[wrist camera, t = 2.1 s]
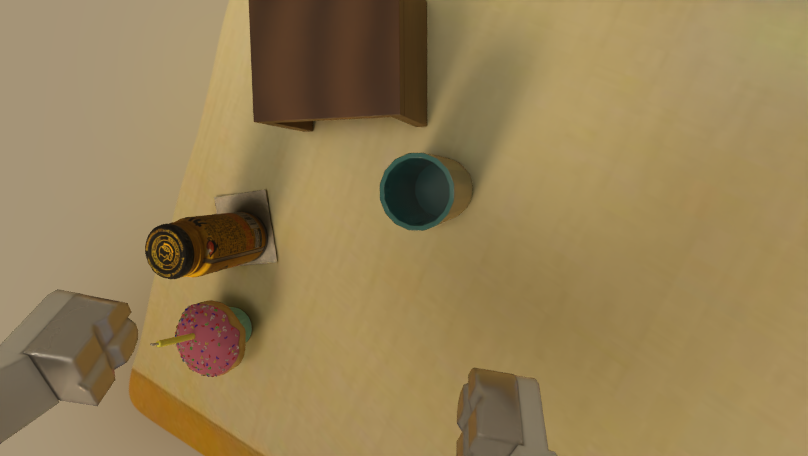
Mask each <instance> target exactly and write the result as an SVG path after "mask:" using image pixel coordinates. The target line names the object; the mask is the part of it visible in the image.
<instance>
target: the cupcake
mask: <svg viewBox="0 0 808 456" xmlns="http://www.w3.org/2000/svg"><path fill="white" fill-rule="evenodd" d="M176 328H177V330H176V332H175V334H176V335H175V337H173V338H168V339H164V340H160V341H157V342H156V343H153V344H152V343H151V344H150V345H152V346H154V345H156V346H157V347H163V346H167V345H171V344H175V343H176V346H177V348H178V351H179V353H180V355H181V358H183V359H182V361H183V362H185V363H186V364H187V366H188V367H189V369H191V370H192V371H193V372H194V371H195V372H197V373H200V374H201V375H203V376H208V377H210V376H211V377H214V376H216V377H217V376H220V375H223V374H225V373H227V372H229V371H230V370H232V369H233V368H234V367H236V366H238V365H239V364H240V363H241V361H242V359H243V356H244V352H245V343H246V342H247V341H248V340H249V338H250V336H251V332H252V326H251V322H250V319H249V317H248V316H247V314H246V313H245V312H244V311H242V310H241V309H239V308H235V307H227V306H226V305H225V304H223V303H220V302H215V301H205V302H200V303H197V304H193V305H191V306H188V307H187V309H185V312H183V313H182V316H181V318H180V320H179V323H178V325H177V326H176Z"/></svg>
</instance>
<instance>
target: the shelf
mask: <svg viewBox="0 0 808 456" xmlns="http://www.w3.org/2000/svg"><path fill="white" fill-rule="evenodd" d="M249 18H250V42H251V66H252V89H253V113H254V122H257V123H262V124H267V125H272V126H277V127H283V128H288V129H293V130H298V131H303V132H307V131H313V121H321V120H341V119H362V118H382V117H393V118H396V119H398V120H401V121H403V122H406V123H408V124H411V125H413V126H416V127H425V126H427V2H426V0H249Z"/></svg>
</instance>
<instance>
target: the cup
mask: <svg viewBox="0 0 808 456" xmlns="http://www.w3.org/2000/svg"><path fill="white" fill-rule="evenodd" d="M472 195H473V183H472V179H471V176H470V174H469V173H468V171H467V170H466V168H465V167H464V166H463V165H461V164H460V163H459V162H457V161H455V160H452V159H449V158H445V157H440V156H436V155H431V154H426V153H408V154H406V155H404V156H401V157H399V158H397V159H395V160H394V161H393V162H392V163H391V164H390V166H389V167H388V168H387V169H386V170H385V172H384V175H383V177H382V180H381V183H380V201H381V203H382V206H383V208H384V211H385V213H386V214H387V215H388V217H389V218H390V219H391V220H392V221H393V222H394V223H395V224H396V225H399V226H401V227H403V228H405V229H407V230H419V231H423V230H427V229H429V228H432V227H434V226H437V225H439V224H441V223H443V222H446V221H448V220H450V219H452V218H455V217H457V216H459V215H460V214H461V213H462V212H463V211H464V210H465V209H466V208H467V207H468V205H469V204H470V202H471V199H472Z"/></svg>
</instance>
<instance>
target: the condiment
mask: <svg viewBox="0 0 808 456" xmlns="http://www.w3.org/2000/svg"><path fill="white" fill-rule="evenodd" d="M214 199H215V206H216V211H217V214H213V215H206V216H196V217H186V218H182V219H180V220H178V221H176V222H173V223H170V224H163V225H160V226H157V227H156V228H154V229H153V230H152V231H151V232H150V234H149V235H148V238H147V241H146V246H145V252H146V253H145V254H146V257H147V260H148V263H149V265H150V266H151V268H152V270H153V271H154V272H155V273H156V274H158V275H159V276H161V277H163V278H168V279H177V278H180V277H185V276H187V277H199V276H203V275H206V274H209V273H213V272H217V271H219V270H223V269H227V268H231V267H234V266H241V265H252V264H264V263H275V262H277V259H276V251H275V244H274V236H273V230H272V226H271V221H270V214H269V206H268V202H267V197H266V190H259V191H253V192H247V193H240V194H234V195H227V196H220V197H214Z"/></svg>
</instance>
